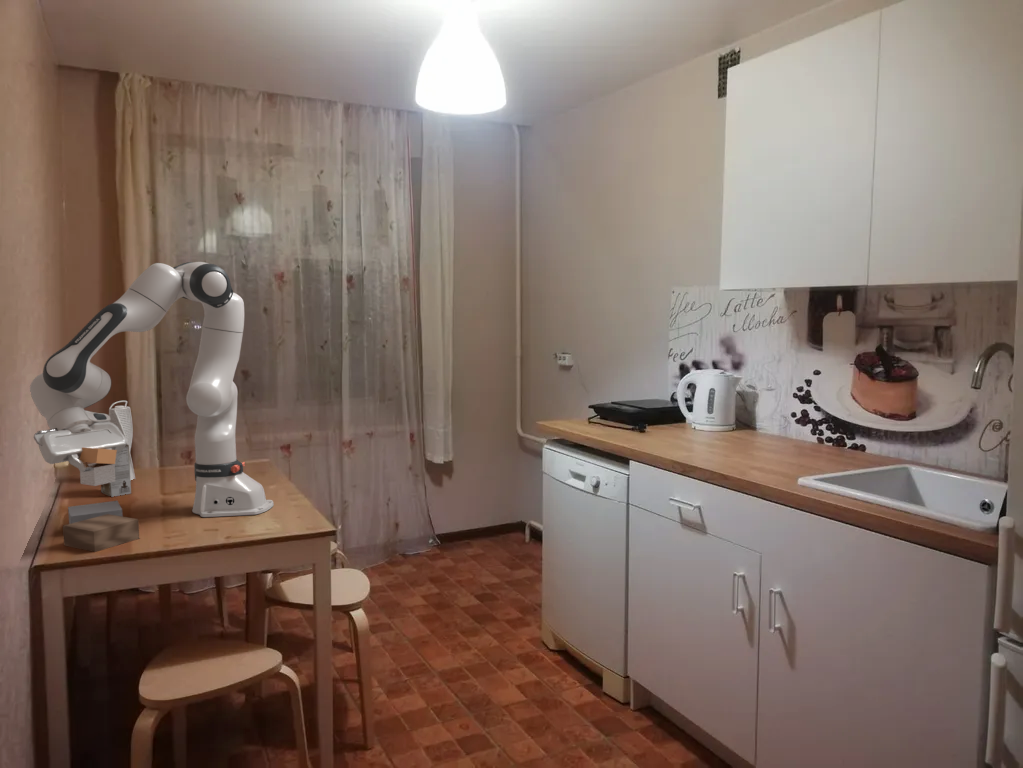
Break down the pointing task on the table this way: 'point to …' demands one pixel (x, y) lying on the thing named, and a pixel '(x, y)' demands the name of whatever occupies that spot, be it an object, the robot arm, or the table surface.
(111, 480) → the housing base
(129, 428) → the skyscraper
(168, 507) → the table surface
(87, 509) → the stand
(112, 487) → the coffee box
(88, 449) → the cover
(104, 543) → the stand
